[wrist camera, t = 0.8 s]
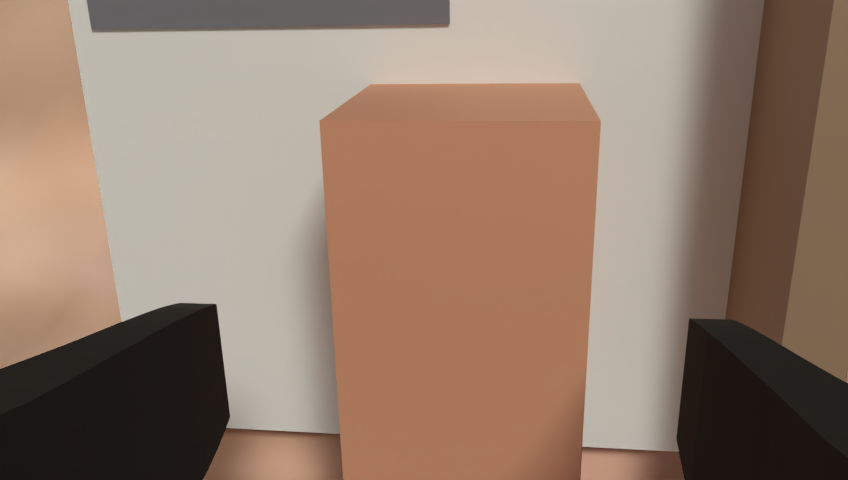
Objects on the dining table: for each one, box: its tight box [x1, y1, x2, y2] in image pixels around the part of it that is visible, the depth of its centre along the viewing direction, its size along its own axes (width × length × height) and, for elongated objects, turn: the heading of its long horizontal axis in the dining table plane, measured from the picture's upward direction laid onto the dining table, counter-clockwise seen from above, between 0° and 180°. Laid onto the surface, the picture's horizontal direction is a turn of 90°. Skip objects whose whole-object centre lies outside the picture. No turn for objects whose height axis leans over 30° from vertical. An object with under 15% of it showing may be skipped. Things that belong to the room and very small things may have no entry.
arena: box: [68, 0, 848, 452], centre depth 15 cm, size 16×20×4 cm
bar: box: [319, 83, 601, 480], centre depth 15 cm, size 7×4×4 cm, turn 1°
